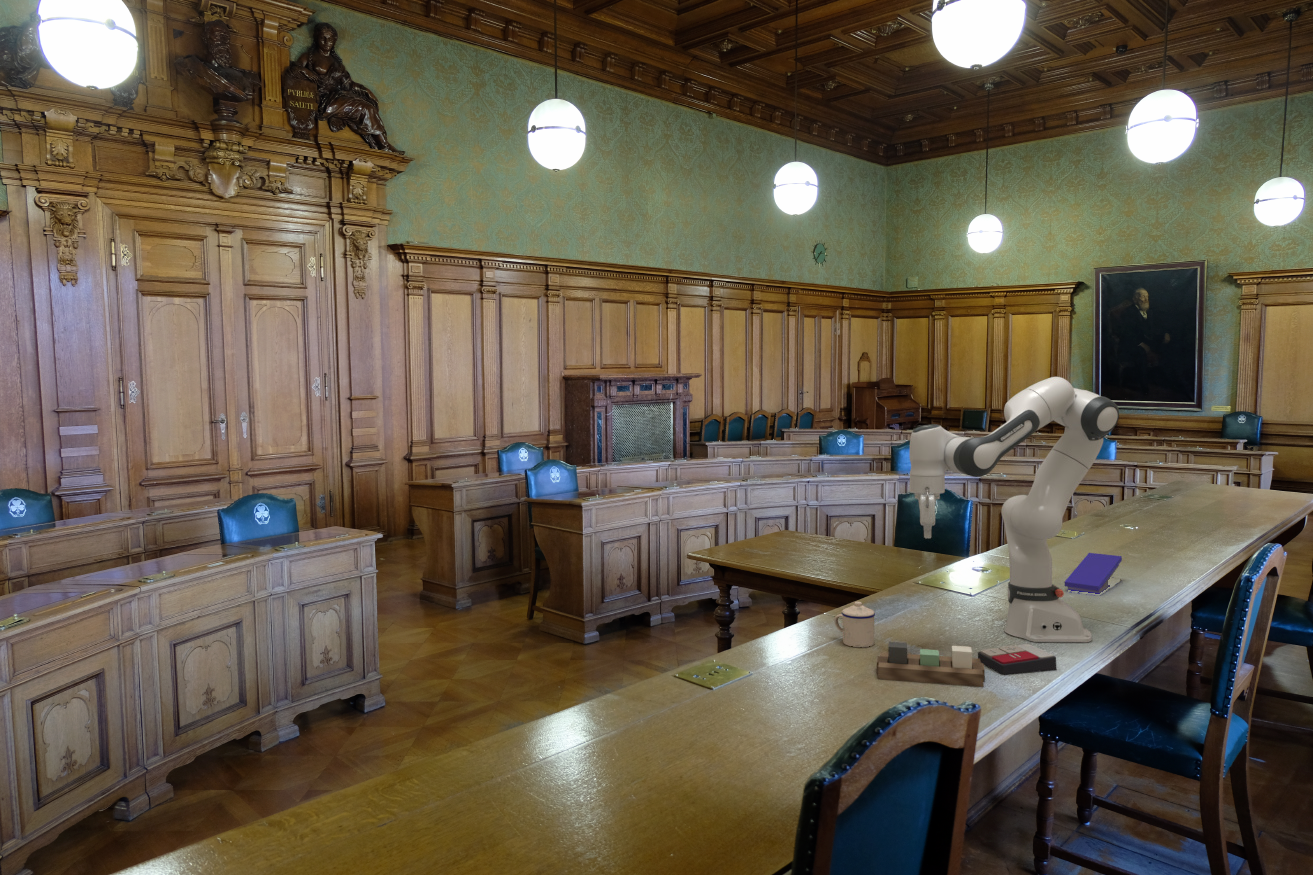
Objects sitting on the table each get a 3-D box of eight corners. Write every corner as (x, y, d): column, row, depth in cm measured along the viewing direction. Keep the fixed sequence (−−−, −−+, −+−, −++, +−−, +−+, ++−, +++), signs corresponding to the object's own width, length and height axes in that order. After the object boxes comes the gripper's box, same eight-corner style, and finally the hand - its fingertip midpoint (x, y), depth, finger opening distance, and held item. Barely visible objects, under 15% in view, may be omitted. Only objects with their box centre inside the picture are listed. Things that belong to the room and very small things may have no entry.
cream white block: (971, 666, 202) (970, 646, 202) (972, 672, 198) (971, 652, 198) (952, 665, 203) (951, 645, 203) (952, 671, 199) (952, 650, 199)
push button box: (976, 648, 212) (1028, 641, 214) (977, 665, 212) (1029, 657, 215) (1002, 662, 201) (1056, 653, 204) (1003, 679, 201) (1057, 670, 204)
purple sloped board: (1123, 582, 294) (1123, 555, 294) (1101, 597, 274) (1101, 568, 273) (1088, 578, 302) (1088, 551, 301) (1064, 592, 281) (1064, 564, 281)
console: (982, 670, 205) (982, 658, 205) (985, 686, 193) (985, 674, 193) (878, 663, 212) (878, 651, 212) (876, 678, 201) (876, 666, 201)
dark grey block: (907, 662, 207) (907, 642, 206) (907, 667, 202) (906, 647, 202) (889, 660, 208) (889, 641, 208) (888, 666, 204) (888, 646, 203)
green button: (938, 669, 204) (938, 650, 204) (939, 675, 200) (939, 655, 200) (920, 668, 206) (920, 648, 205) (920, 674, 201) (920, 654, 201)
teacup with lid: (881, 642, 230) (880, 601, 230) (865, 650, 224) (864, 607, 223) (843, 634, 238) (842, 595, 238) (826, 642, 232) (826, 601, 231)
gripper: (940, 490, 207) (941, 544, 208) (938, 482, 226) (939, 531, 227) (914, 490, 209) (914, 544, 210) (915, 481, 228) (915, 531, 229)
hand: (927, 537), depth 218 cm, fingers closed
